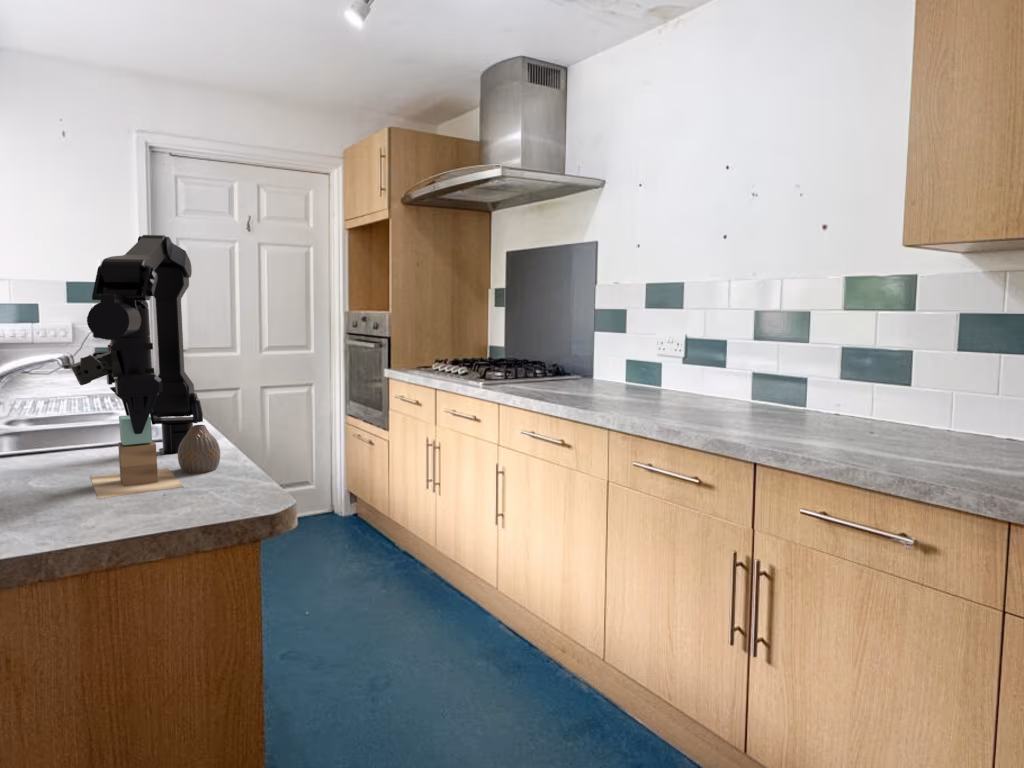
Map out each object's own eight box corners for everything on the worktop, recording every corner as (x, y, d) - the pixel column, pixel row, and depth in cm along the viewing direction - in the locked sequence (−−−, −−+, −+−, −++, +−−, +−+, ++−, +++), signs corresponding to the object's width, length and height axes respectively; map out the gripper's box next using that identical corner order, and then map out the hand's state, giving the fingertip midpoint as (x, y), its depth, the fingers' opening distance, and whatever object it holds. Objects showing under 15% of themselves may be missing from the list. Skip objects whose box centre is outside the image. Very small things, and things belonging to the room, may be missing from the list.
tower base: (120, 480, 118) (119, 461, 117) (153, 476, 120) (152, 457, 120) (123, 486, 113) (122, 467, 113) (158, 482, 116) (157, 463, 116)
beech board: (90, 481, 120) (90, 476, 120) (168, 471, 127) (167, 467, 127) (98, 503, 107) (97, 498, 107) (184, 491, 114) (183, 486, 113)
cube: (120, 441, 117) (118, 416, 116) (148, 438, 119) (147, 413, 119) (123, 445, 113) (121, 419, 113) (152, 442, 116) (150, 417, 115)
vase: (170, 476, 124) (167, 427, 123) (203, 468, 130) (201, 421, 129) (196, 480, 121) (194, 430, 120) (229, 472, 127) (227, 424, 126)
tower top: (119, 461, 117) (118, 442, 117) (152, 457, 120) (151, 439, 120) (122, 467, 113) (121, 447, 113) (157, 463, 116) (155, 444, 116)
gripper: (69, 335, 117) (75, 427, 119) (75, 340, 102) (82, 446, 104) (144, 334, 124) (149, 421, 125) (160, 338, 108) (165, 438, 110)
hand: (136, 431), depth 116 cm, fingers open, 5 cm apart
